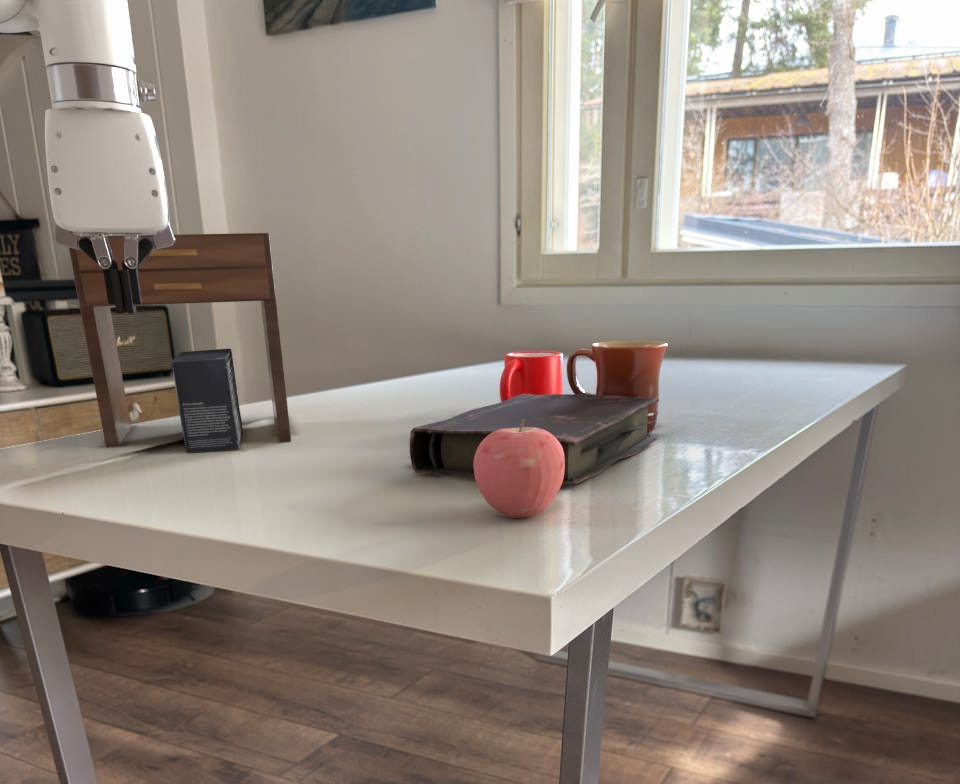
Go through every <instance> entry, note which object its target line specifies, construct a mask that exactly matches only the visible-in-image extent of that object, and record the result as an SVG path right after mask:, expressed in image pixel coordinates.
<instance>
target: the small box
mask: <svg viewBox="0 0 960 784" xmlns="http://www.w3.org/2000/svg"><path fill="white" fill-rule="evenodd" d="M170 363H171V368H172V375H173V382H174V389H175V394H176V400H177V406H178V413H179V419H180V424H181V431H182V436H183V442H184V446H185V452H186V453H187V454H191V453H206V452H221V451H237V450H240V449H241V447H242V442H243V438H244V426H243V421H242V420H243V419H242V414H241V409H240V403H239V395H238V388H237V387H238V386H237V380H236V373H235V366H234V359H233V352H232V348H218V349H205V350H191V351H180V353H178V354H177V355H176V356H175V358H173V359H172V360H171V362H170Z"/></svg>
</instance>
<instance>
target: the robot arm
mask: <svg viewBox="0 0 960 784" xmlns="http://www.w3.org/2000/svg"><path fill="white" fill-rule="evenodd" d="M129 11H130V10H129V4H128V0H0V33H1V34H16V33H17V34H18V33H25V32H32V31H38V30H39V35H40V39H41V46H42V53H43V58H44V64H45V72H46V77H47V83H48V89H49V95H50V102H51V107H52V108H48V109H46V110H44V111H45V112H44V148H45V149H44V151H45V161H46V162H45V163H46V171H47V182H48V183H47V184H48V192H49V199H50V205H51V206H50V207H51V212H52V216H53V220H54V222H55V226H54V242H55V243H56V244H57V245H59V246H61V247H65V248H68V249H69V248H73V249H77V250H81V251H84V252H85V253H86V254H87V255H88V256H89V257H91V258H92V259H93V260H94V261H95V262H96V263H97V264H98V265H99V266H100V267H101V268H103V273H104V279H105V286H106V292H107V299H108V304H109V305H115V306H114V307H115V312H116V313H115V314H116V315H123V314H125V313H127V314H128V315H129V314H130V315H135V314H136V313H137V305H136V304H142V299H141V291H140V284H139V277H138V269H137V268H138V267H139V266H140V265H141V263H142V262H143V261H144V260H145V259H146V257H147V256H148V255H149V254H150V253H151V252H152V251H155V250H159V249H163V248H167V247H170V246H173V245H174V244H175V242H176V241H175V238H174V235H175V234H174V232H173V229H172V227H171V212H170V205H169V196H168V191H167V184H166V177H165V173H164V165H163V161H162V155H161V150H160V145H159V142H158V137H157V134H156V131H155V126H154V123H153V120H152V117H151V116H150V115H148V114H147V113H143V112H142V106H144V105H145V103H149V101H150V102H151V101H153V102H157V92H156V87H155V86H156V85H155V83H146V81H142V79H141V78H139V77H138V75H137V66H136V60H135V59H136V58H135V50H134V44H133V36H132V35H133V34H132V27H131V26H132V25H131V20H130V12H129ZM75 233H78V234H88V236H90V238H91V239H89V238H85V237H81V236H82V235H77V234H75ZM108 235H124V261H123V262H122V268H123V269H122V270H119V269H118V264H117V262H116V261H115V260H114V258H113V255H112V251H111V248H110V245H109V241H108V238H107V236H108ZM141 235H155V236H151V237H148V238H143V239H141Z"/></svg>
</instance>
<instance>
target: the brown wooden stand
mask: <svg viewBox="0 0 960 784" xmlns="http://www.w3.org/2000/svg"><path fill="white" fill-rule="evenodd" d="M155 235H156V234H141V239H143V238H148V237H151V236H155ZM173 235H174V238H175V241H176V242H175V244H174V245H173V246H170V247H167V248H163V249H159V250H155V251H152V252H151V253H150V254H149V255H148V256H147V257H146V259H145V260H144V261H143V262H142V263H141V265H140V266H139V267H138V268H137V269H138V277H139V284H140V291H141V299H142V304H136V306H149V305H180V304H181V305H183V304H208V303H210V304H211V303H239V302H242V303H243V302H260V307H261V317H262V327H263V332H264V333H263V334H264V342H265V343H264V344H265V351H266V352H265V353H266V361H267V370H268V379H269V388H270V397H271V404H272V414H273V424H274V427H275V430H276V435H277V438H278V443H289V442H292V437H291V426H290V417H289V408H288V397H287V390H286V379H285V370H284V369H285V368H284V360H283V351H282V341H281V333H280V332H281V331H280V323H279V322H280V321H279V313H278V305H277V294H276V284H275V275H274V265H273V258H272V247H271V239H270V233H269V232H246V233H245V232H242V233H238V232H237V233H190V234H189V233H185V234H184V233H183V234H173ZM80 236H81V237H85V238H89V239H91V238H90V235H80ZM107 238H108V241H109V245H110V248H111V251H112V255H113V258H114V260H115V261H116V262H117V264H118V269H119V270H122V269H123V268H122V262H123V261H124V234H122V235H107ZM68 251H69V257H70V262H71V268H72V273H73V279H74V284H75V288H76V295H77V300H78V303H79V304H78V305H79V310H80V315H81V321H82V327H83V333H84V336H85V337H84V338H85V342H86V347H87V353H88V360H89V364H90V370H91V375H92V380H93V385H94V390H95V395H96V401H97V406H98V412H99V417H100V423H101V426H102V432H103V433H102V434H103V438H104V445H105V448H117V447H120V445H121V444H122V442H123V440H124V439H125V437H126V436H127V434H128V432H130V429H131V428H132V425H131V419H130V412H129V408H128V402H127V401H128V400H127V396H126V391H125V390H126V389H125V386H124V385H125V384H124V379H123V373H122V369H121V368H122V367H121V362H120V357H119V351H118V346H117V340H116V334H115V328H114V322H113V317H112V316H113V315H112V311H111V307H115V305H109V304H108V299H107V292H106V286H105V279H104V273H103V268H101V267H100V266H99V265H98V264H97V263H96V262H95V261H94V260H93V259H92V258H91V257H89V256H88V255H87V254H86V253H85V252H84V251H81V250H77V249H73V248H69V247H68Z"/></svg>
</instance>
